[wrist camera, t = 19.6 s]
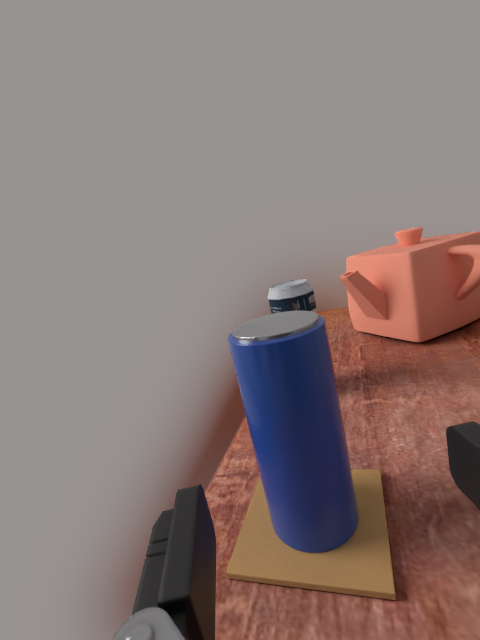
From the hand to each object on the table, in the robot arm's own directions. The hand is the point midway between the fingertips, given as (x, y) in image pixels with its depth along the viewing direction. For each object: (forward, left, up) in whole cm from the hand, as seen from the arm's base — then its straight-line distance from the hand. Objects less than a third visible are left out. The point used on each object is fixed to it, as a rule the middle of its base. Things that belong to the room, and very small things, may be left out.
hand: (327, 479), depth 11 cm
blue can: (+6, +5, -9) cm, 12 cm away
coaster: (+6, +5, -9) cm, 12 cm away
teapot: (+42, +7, -9) cm, 44 cm away
